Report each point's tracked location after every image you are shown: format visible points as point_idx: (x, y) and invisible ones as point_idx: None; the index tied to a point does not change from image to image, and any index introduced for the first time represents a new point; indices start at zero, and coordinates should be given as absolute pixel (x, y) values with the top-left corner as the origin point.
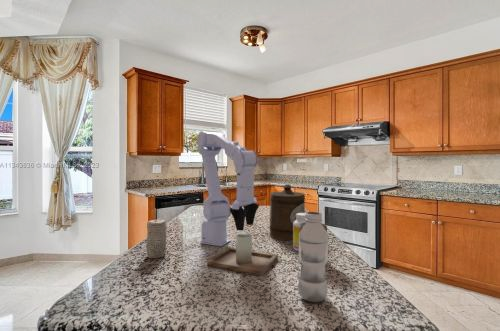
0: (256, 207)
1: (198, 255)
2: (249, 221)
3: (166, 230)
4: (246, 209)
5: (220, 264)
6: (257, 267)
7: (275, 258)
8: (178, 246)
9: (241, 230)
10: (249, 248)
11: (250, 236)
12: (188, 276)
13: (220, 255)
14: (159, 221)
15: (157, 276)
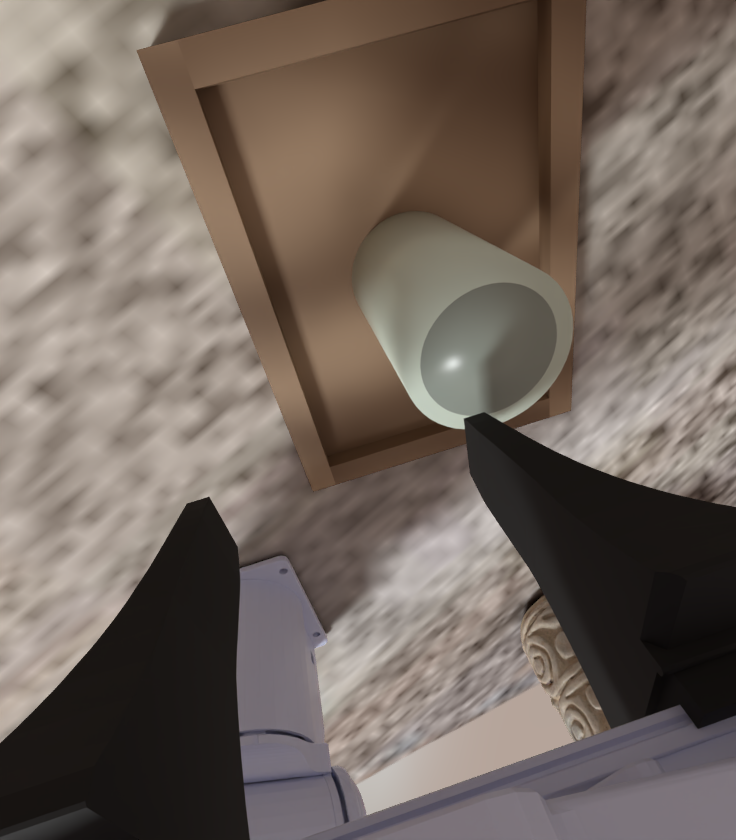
0: (115, 734)
1: (460, 523)
2: (221, 556)
3: (588, 711)
4: (227, 759)
5: None
6: (466, 85)
7: (219, 30)
8: (420, 647)
9: (489, 418)
10: (462, 235)
11: (491, 270)
12: (691, 362)
13: None
14: None
15: (720, 448)
